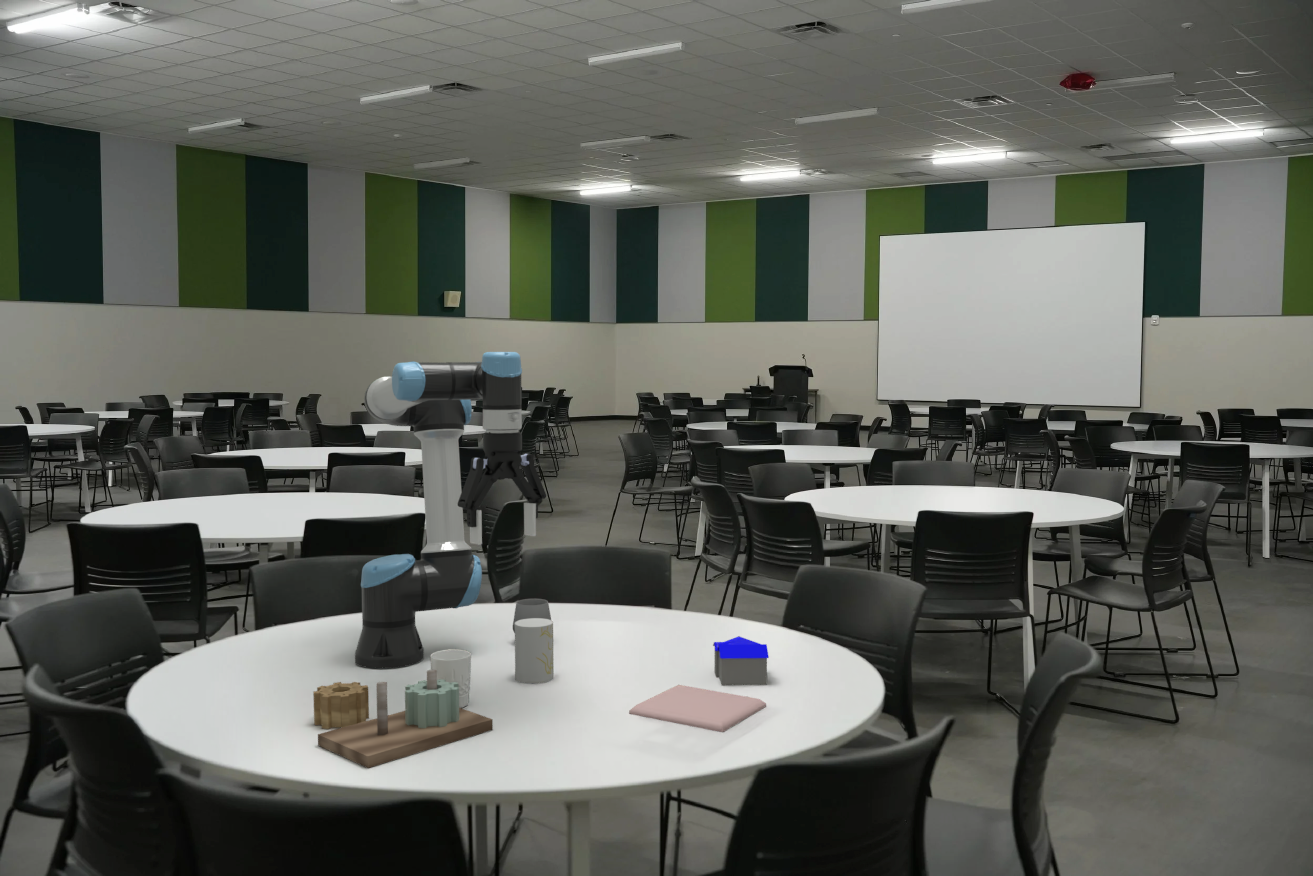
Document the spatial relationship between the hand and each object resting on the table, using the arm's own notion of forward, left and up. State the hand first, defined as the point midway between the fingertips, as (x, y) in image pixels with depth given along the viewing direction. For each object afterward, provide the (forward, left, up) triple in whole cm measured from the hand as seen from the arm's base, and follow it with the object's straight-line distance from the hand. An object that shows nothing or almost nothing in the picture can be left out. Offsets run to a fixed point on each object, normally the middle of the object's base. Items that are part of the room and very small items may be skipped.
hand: (503, 539), depth 215 cm
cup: (-32, +34, -33) cm, 57 cm away
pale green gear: (+3, -20, -30) cm, 36 cm away
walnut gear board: (+3, -25, -32) cm, 41 cm away
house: (+23, +45, -33) cm, 60 cm away
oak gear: (-14, -28, -32) cm, 45 cm away
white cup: (-7, -8, -33) cm, 34 cm away
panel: (+30, +14, -33) cm, 47 cm away
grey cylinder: (-9, +15, -33) cm, 37 cm away
